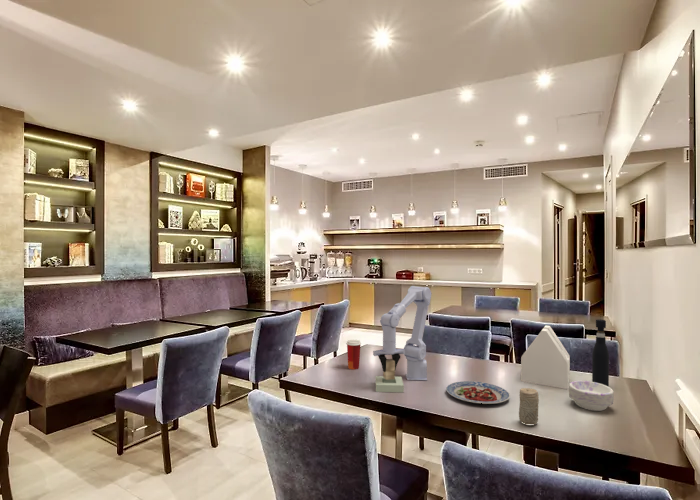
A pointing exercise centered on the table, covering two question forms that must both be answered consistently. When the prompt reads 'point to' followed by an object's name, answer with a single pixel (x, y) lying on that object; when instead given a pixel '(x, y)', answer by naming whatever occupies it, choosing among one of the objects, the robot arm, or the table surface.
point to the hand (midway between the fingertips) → (389, 370)
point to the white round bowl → (591, 395)
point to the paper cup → (353, 354)
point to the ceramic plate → (478, 392)
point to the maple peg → (389, 369)
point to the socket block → (389, 384)
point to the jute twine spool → (528, 406)
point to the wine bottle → (600, 356)
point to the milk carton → (546, 361)
